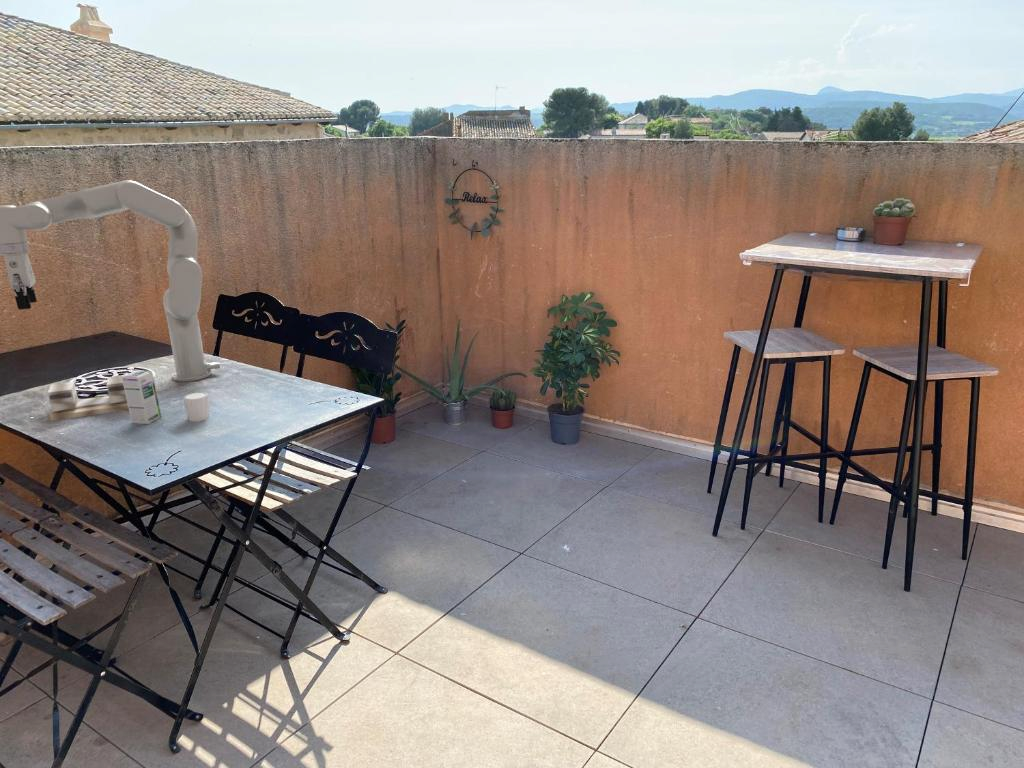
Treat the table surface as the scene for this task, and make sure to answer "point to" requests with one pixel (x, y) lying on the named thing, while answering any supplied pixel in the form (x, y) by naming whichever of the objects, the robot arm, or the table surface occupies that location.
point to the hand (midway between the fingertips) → (27, 305)
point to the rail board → (85, 400)
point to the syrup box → (141, 397)
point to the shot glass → (197, 406)
